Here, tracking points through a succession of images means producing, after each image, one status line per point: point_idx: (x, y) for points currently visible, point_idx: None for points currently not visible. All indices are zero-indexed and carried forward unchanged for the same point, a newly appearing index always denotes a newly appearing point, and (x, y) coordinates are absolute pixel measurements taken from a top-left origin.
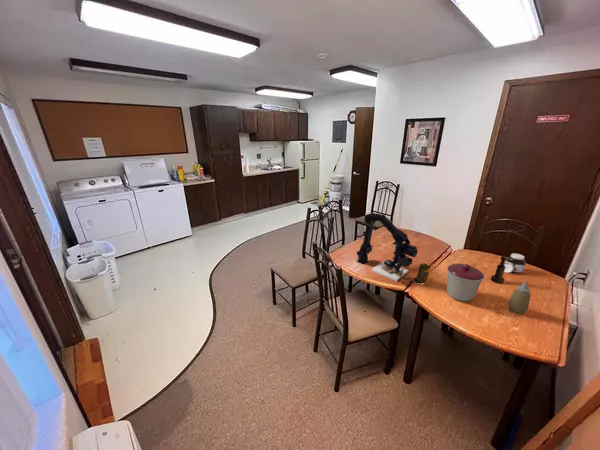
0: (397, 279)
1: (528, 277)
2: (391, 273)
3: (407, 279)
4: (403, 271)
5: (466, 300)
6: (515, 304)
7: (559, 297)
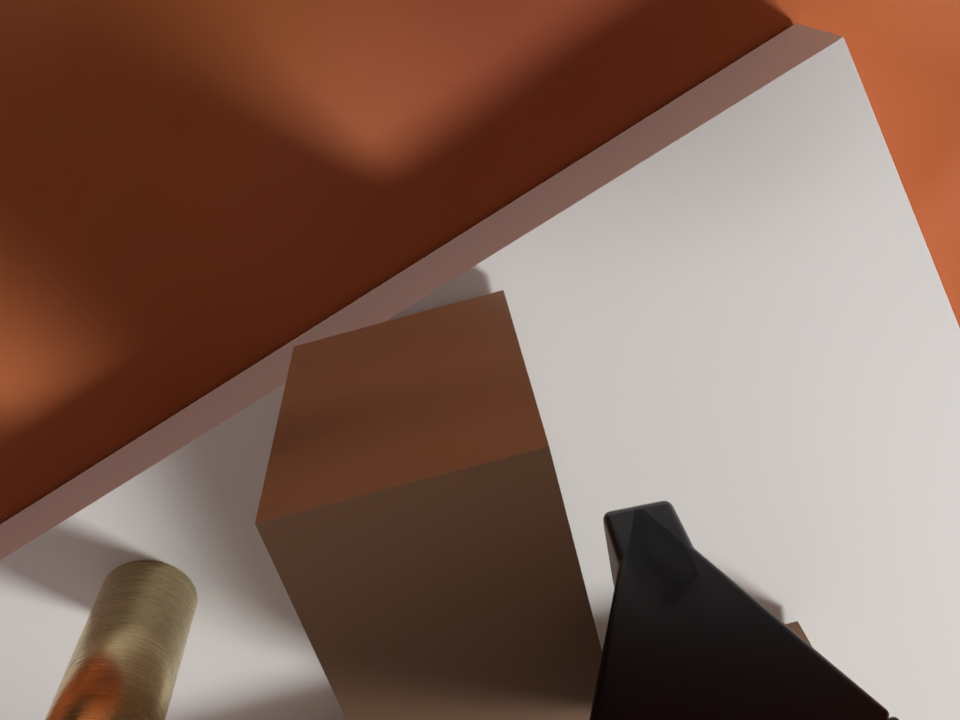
0: (754, 86)
1: None
2: None
3: (58, 80)
4: (7, 696)
5: None
6: None
7: None
